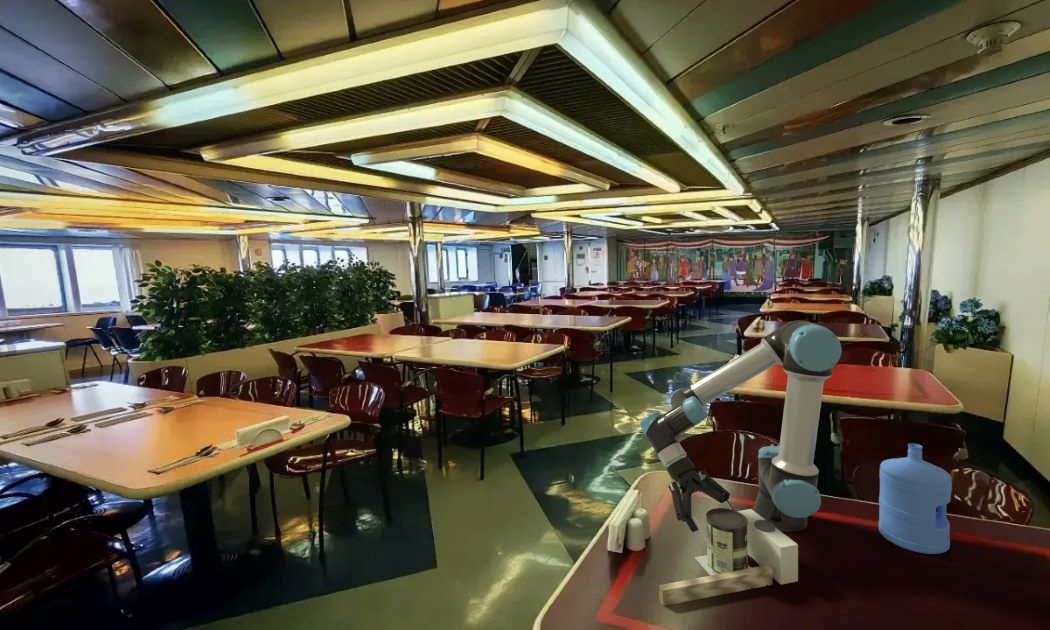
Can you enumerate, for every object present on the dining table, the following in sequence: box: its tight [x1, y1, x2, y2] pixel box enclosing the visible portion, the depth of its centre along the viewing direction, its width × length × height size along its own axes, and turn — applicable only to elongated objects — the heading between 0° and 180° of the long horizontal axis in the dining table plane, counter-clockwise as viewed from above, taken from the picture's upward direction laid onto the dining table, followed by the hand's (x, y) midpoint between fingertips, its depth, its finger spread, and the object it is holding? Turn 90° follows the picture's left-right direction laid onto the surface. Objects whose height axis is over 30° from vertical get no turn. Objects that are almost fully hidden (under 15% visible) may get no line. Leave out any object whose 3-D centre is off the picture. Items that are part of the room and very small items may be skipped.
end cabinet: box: [694, 508, 799, 585], centre depth 123 cm, size 20×18×11 cm
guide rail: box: [658, 565, 773, 607], centre depth 114 cm, size 30×2×4 cm, turn 100°
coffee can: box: [705, 507, 749, 574], centre depth 122 cm, size 10×10×14 cm
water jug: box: [878, 442, 953, 555], centre depth 129 cm, size 16×16×28 cm
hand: (722, 533), depth 122 cm, fingers open, 13 cm apart
